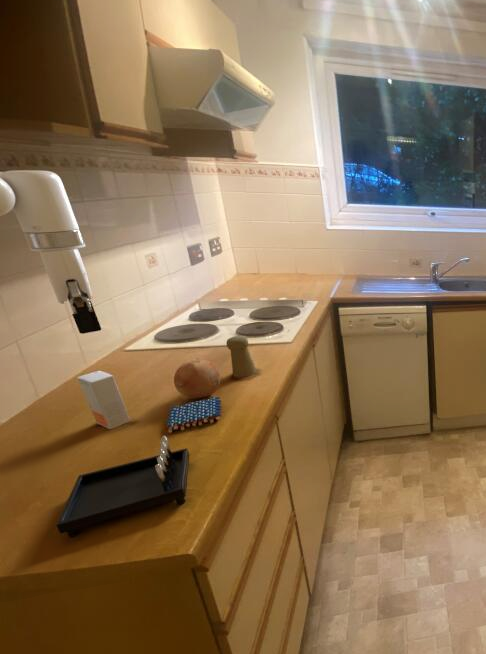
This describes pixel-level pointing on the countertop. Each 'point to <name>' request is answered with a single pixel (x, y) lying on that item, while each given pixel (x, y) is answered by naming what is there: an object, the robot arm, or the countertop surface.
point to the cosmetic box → (104, 399)
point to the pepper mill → (240, 357)
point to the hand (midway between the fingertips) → (89, 326)
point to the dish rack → (126, 489)
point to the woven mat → (194, 413)
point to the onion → (197, 378)
